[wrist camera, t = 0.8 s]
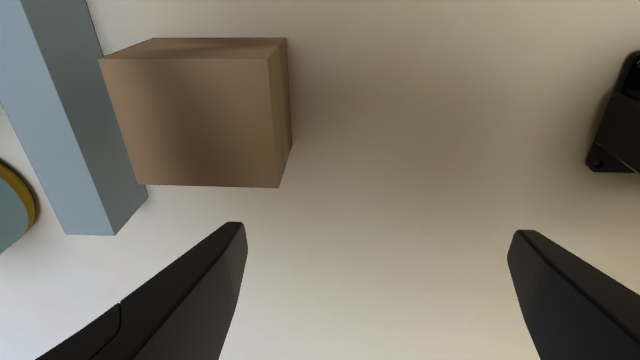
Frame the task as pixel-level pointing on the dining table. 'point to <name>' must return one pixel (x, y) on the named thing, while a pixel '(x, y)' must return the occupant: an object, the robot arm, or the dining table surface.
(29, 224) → the bottle
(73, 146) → the light blue block
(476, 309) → the dining table surface
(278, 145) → the walnut brick
